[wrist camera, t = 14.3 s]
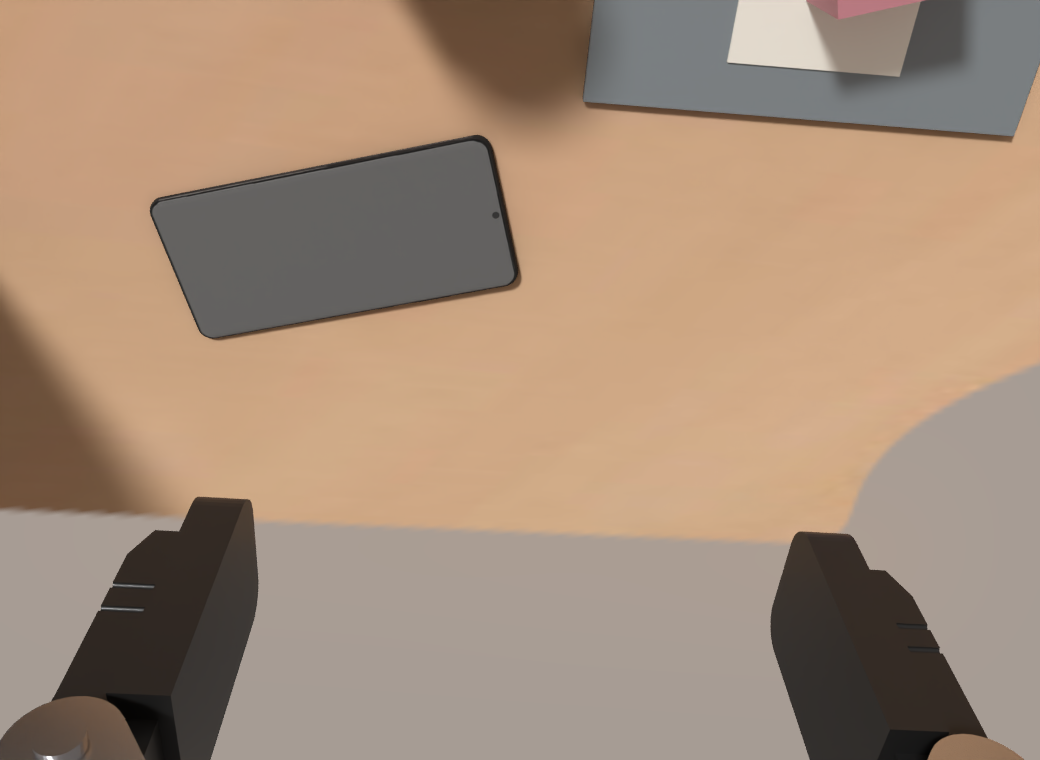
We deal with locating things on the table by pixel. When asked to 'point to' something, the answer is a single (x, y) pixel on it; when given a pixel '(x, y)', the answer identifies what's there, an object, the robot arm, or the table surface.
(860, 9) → the card box
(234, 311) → the smartphone
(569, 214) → the table surface
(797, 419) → the table surface
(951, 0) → the mat
